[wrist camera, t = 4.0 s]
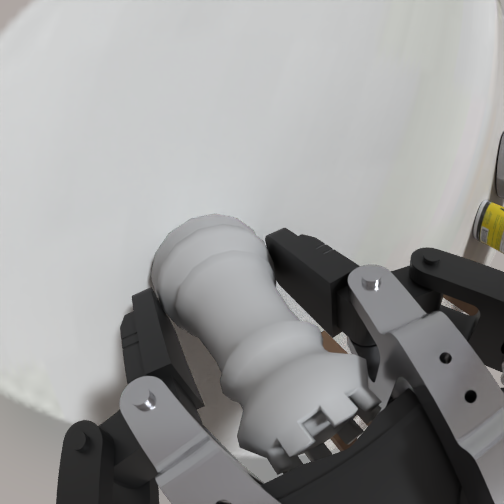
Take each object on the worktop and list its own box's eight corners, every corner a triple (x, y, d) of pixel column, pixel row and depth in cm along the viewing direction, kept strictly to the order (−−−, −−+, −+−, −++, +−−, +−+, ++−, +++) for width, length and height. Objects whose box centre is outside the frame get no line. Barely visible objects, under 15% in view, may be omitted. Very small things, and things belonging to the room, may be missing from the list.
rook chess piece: (250, 305, 13) (364, 445, 6) (151, 317, 11) (221, 509, 4) (265, 210, 11) (444, 331, 4) (149, 210, 9) (242, 427, 3)
